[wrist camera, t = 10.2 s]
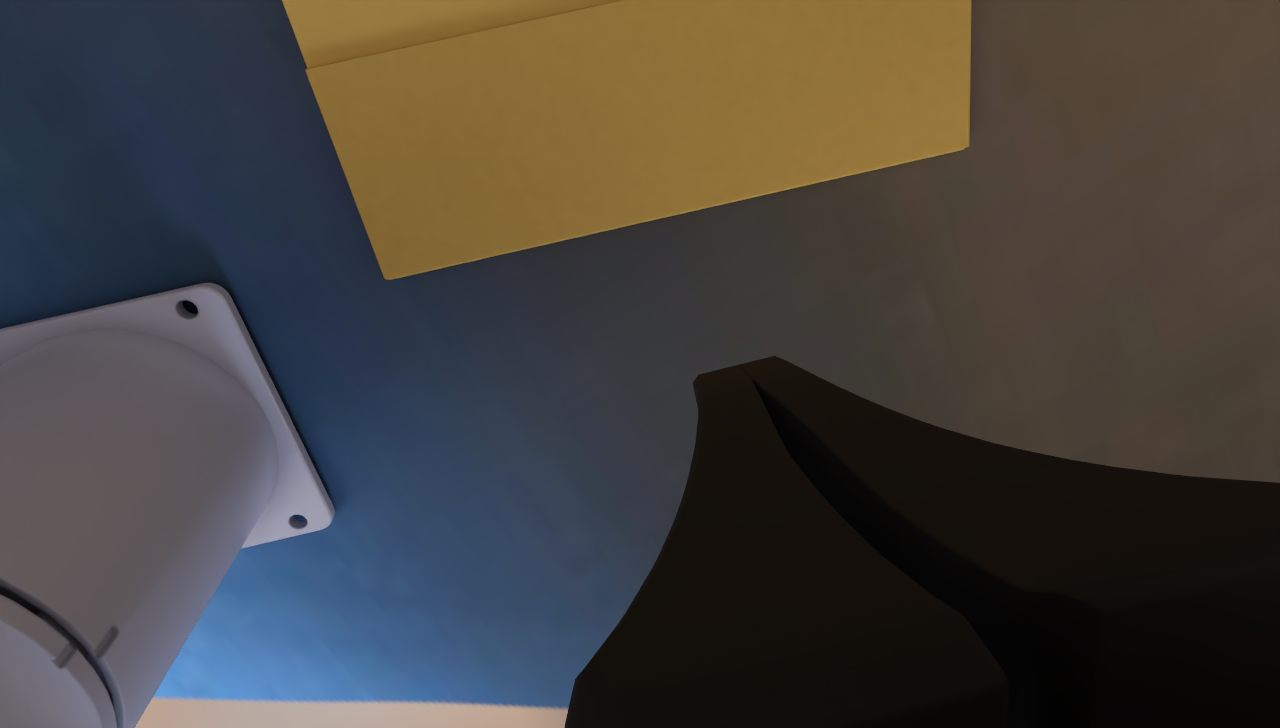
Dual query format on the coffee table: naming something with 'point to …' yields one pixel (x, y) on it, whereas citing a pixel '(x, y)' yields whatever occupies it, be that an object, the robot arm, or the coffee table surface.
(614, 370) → the coffee table surface
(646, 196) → the envelope
